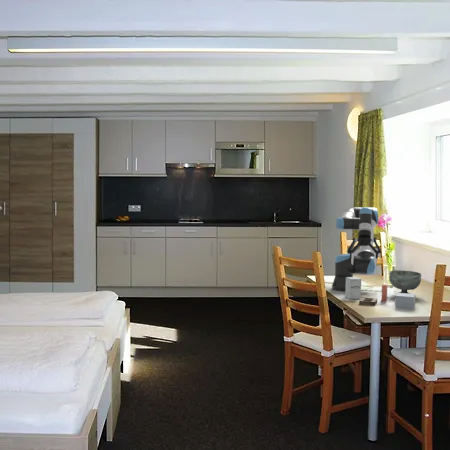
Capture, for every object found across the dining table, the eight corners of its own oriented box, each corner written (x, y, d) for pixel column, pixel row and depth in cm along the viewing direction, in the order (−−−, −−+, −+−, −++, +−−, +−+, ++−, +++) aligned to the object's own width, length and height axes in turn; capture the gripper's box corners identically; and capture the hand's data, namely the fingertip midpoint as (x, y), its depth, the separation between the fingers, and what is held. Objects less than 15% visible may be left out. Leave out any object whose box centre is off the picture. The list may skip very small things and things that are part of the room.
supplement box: (349, 299, 381) (350, 278, 380) (344, 297, 388) (345, 276, 387) (361, 299, 383) (361, 278, 382) (356, 296, 390) (356, 276, 389)
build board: (361, 301, 377) (362, 297, 377) (377, 302, 374) (377, 298, 373) (359, 304, 366) (359, 300, 366) (374, 305, 363) (374, 302, 363)
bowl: (399, 299, 382) (399, 275, 381) (382, 294, 401) (383, 270, 399) (427, 298, 387) (428, 274, 386) (410, 292, 406) (411, 269, 405)
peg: (381, 300, 378) (382, 284, 377) (387, 301, 377) (387, 284, 376) (381, 301, 375) (381, 285, 374) (386, 302, 374) (387, 285, 373)
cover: (396, 304, 368) (397, 292, 367) (414, 306, 364) (415, 294, 363) (395, 307, 358) (395, 295, 358) (413, 309, 355) (413, 297, 354)
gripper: (343, 229, 389) (341, 261, 381) (384, 228, 380) (383, 261, 372) (345, 234, 395) (343, 266, 387) (386, 233, 386) (385, 265, 378)
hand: (363, 263), depth 379 cm, fingers open, 13 cm apart
